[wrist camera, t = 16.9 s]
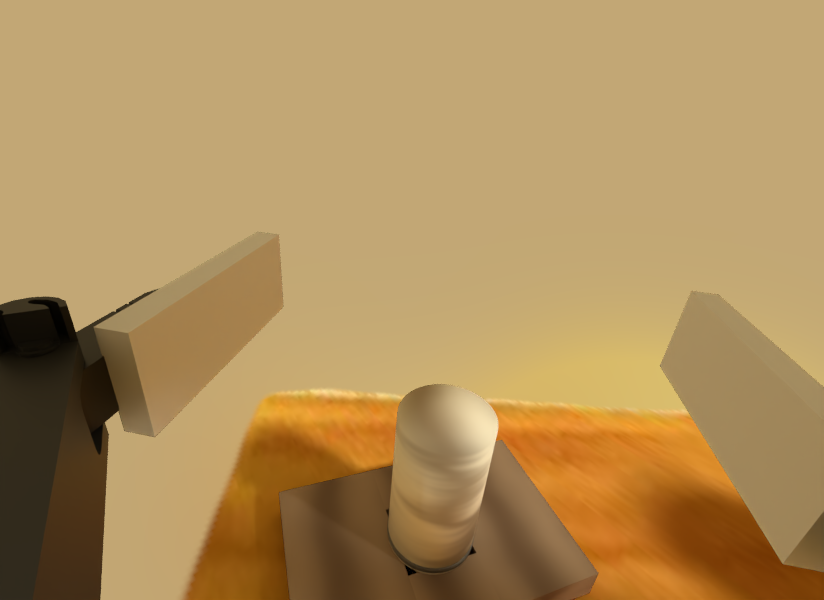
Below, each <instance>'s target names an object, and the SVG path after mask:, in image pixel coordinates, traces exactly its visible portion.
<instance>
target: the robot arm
mask: <svg viewBox="0 0 824 600" xmlns="http://www.w3.org/2000/svg"><path fill="white" fill-rule="evenodd" d="M282 308H283V292H282V276H281V262H280V244H279V235H278V234H270V233H263V232H256V233H255V234H253V235H251V236H249V237H248V238H246V239H244V240H243V241H241V242H239V243H237V244H236V245H234V246H232V247H231V248H229V249H227V250H225V251H224V252H222V253H220V254H218V255H217V256H215V257H214V258H212V259H210V260H208V261H206V262H205V263H203V264H201V265H200V266H198V267H196V268H194V269H193V270H191V271H189V272H188V273H186V274H184V275H182V276H181V277H179V278H177V279H175V280H174V281H172V282H171V283H169V284H167V285H165V286H164V287H162V288H160V289H157V290H154V291H151V292H147V293H145V294H143V295H142V296H139V297H138V298H136V299H134V300H132V301H131V302H129V304H125V305H124V306H122V307H120V308H118V309H117V310H116V312H111V313H109V314H108V315H106V316H104V317H102V318H101V319H99V320H97V321H95V322H94V323H92V324H90V325H89V326H87V327H85V328H83V329H81V330H80V331H78V332H75V329H74V325H73V322H72V319H71V316H70V313H69V310H68V307H67V304H66V301H64V300H62V299H60V298H55V297H32V298H26V299H20V300H15V301H11V302H8V303H4V304H2V305H0V600H100V594H101V574H102V553H103V535H104V515H105V495H106V476H107V475H106V474H107V455H108V435H109V434H108V431H107V428H106V425H105V421H106V420H108V419H109V418H110V417H111V416H113V415H114V414H115V413H116V412H117V411H119V414H120V418H121V421H122V424H123V428H124V431H127V432H132V433H137V434H142V435H147V436H152V437H156V436H157V435H158V433H160V432H161V430H162V429H164V427H166V425H167V424H168V423H169V422H170V421H171V420H172V419H173V418H174V417H175V416H176V415H177V414H178V413H179V412H180V411H181V410H182V409H183V408H184V407H185V406H186V405H187V404H188V403H189V402H190V401H191V400H192V399H193V398H194V397H195V396H196V395H197V394H198V393H199V392H200V391H201V390H202V389H203V388H204V387H205V386H206V385H207V384H208V383H209V382H210V381H211V380H212V379H213V378H214V377H215V376H216V375H217V374H218V373H219V372H220V371H221V370H222V369H223V368H224V367H225V366H226V365H227V364H228V363H229V362H230V360H231V359H233V358H234V357H235V356H236V355H237V354H238V352H240V351H241V349H242V348H243V347H244V346H245V345H246V344H247V343H248V342H249V341H250V340H251V339H252V338H253V337H254V336H255V335H256V334H257V333H258V332H259V331H260V330H261V329H262V328H263V327H264V326H265V325H266V324H267V323H268V322H269V321H270V320H271V319H272V318H273V317H274V316H275V315H276V314H277V313H278V312H279V311H280V310H281V309H282ZM660 367H661V368H662V370H663V372H664V373H665V375H666V377H667V378H668V380H669V382H670V383H671V384H672V386H673V388H674V390H675V391H676V393H677V394H678V396H679V398H680V399H681V401H682V402H683V404H684V406H685V407H686V409H687V411H688V412H689V414H690V415H691V417H692V419H693V420H694V422H695V423H696V425H697V427H698V428H699V430H700V432H701V433H702V435H703V436H704V438H705V440H706V441H707V443H708V444H709V446H710V448H711V449H712V451H713V452H714V454H715V456H716V457H717V459H718V461H719V462H720V464H721V465H722V467H723V469H724V470H725V472H726V473H727V475H728V477H729V478H730V480H731V482H732V483H733V485H734V486H735V488H736V490H737V491H738V493H739V494H740V496H741V498H742V499H743V501H744V502H745V504H746V506H747V507H748V509H749V511H750V512H751V514H752V515H753V517H754V519H755V520H756V522H757V523H758V525H759V527H760V528H761V530H762V532H763V533H764V535H765V536H766V538H767V540H768V541H769V543H770V544H771V546H772V548H773V549H774V551H775V552H776V554H777V556H778V557H779V559H780V561H781V562H782V564H785V565H790V566H795V567H800V568H805V569H810V570H815V571H820V572H824V387H823V386H822V385H820V384H819V383H818V382H817V381H816V380H815V379H814V378H812V376H810V375H809V374H808V373H807V372H806V371H805V370H803V369H802V368H801V367H800V366H799V365H798V364H797V363H796V362H795V361H793V360H792V359H791V358H790V357H789V356H788V355H787V354H785V353H784V352H783V351H782V350H781V349H780V348H779V347H777V346H776V345H775V344H774V343H773V342H772V341H771V340H770V339H768V338H767V337H766V336H765V335H764V334H762V332H760V331H759V330H758V329H757V328H756V327H755V326H754V325H752V324H751V323H750V322H749V321H748V320H747V319H746V318H744V317H743V316H742V315H741V314H740V313H739V312H738V311H737V310H735V309H734V308H733V307H732V306H731V305H730V304H729V303H727V302H726V301H725V300H724V299H723V298H722V297H721V296H720V295H718V294H711V293H703V292H696V291H691V293H690V295H689V298H688V300H687V303H686V305H685V308H684V310H683V312H682V314H681V317H680V319H679V322H678V324H677V326H676V329H675V331H674V334H673V336H672V338H671V341H670V343H669V346H668V348H667V350H666V353H665V355H664V358H663V360H662V362H661V365H660Z"/></svg>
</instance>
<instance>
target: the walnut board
mask: <svg viewBox="0 0 824 600" xmlns="http://www.w3.org/2000/svg"><path fill="white" fill-rule="evenodd" d="M392 471H393V466H388V467H384V468H380V469H376V470H371V471H367V472H363V473H359V474H354V475H350V476H346V477H342V478H337V479H333V480H329V481H324V482H320V483H316V484H312V485H307V486H303V487H299V488H295V489H290V490H286V491H282V492H279V499H280V511H281V521H282V530H283V540H284V550H285V560H286V569H287V579H288V589H289V599H290V600H573V599H575V598H578V597H580V596H582V595H585V594H587V593H590V591H591V588H592V586H593V584H594V582H595V580H596V578H597V576H598V572H597V571H596V569H595V568H594V566H593V565H592V564H591V562H590V561H589V560H588V558H587V557H586V555H585V554H584V553H583V551H582V550H581V548H580V547H579V546H578V544H577V543H576V542H575V540H574V539H573V537H572V536H571V535H570V533H569V532H568V531H567V529H566V528H565V526H564V525H563V524H562V522H561V521H560V519H559V518H558V517H557V515H556V514H555V513H554V511H553V510H552V508H551V507H550V506H549V504H548V503H547V502H546V500H545V499H544V497H543V496H542V495H541V493H540V492H539V490H538V489H537V488H536V486H535V485H534V484H533V482H532V481H531V479H530V478H529V477H528V475H527V474H526V473H525V471H524V470H523V468H522V467H521V466H520V464H519V463H518V461H517V460H516V459H515V457H514V456H513V455H512V453H511V452H510V450H509V449H508V448H507V446H506V445H505V444H504V442H503V441H502V440H499V441H495V446H494V450H493V454H492V459H491V463H490V467H489V472H488V476H487V481H486V485H485V489H484V494H483V498H482V503H481V507H480V511H479V516H478V520H477V524H476V529H475V533H474V541H473V545H472V548H471V551H470V553H469V555H468V556H467V558H466V560H465V561H464V562H463V563H462V564H461V565H460V566H459V567H457V568H456V569H454V570H452V571H450V572H447V573H444V574H437V575H430V574H424V573H420V572H418V573H415V574H412V575H409V576H408V573H407V570H406V567H405V564H404V563H403V562H401V560H400V559H399V558H398V557H397V556H396V555H395V553H394V551H393V550H392V548H391V545H390V543H389V539H388V533H387V523H388V516H389V507H390V495H391V483H392Z"/></svg>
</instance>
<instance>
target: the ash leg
mask: <svg viewBox="0 0 824 600" xmlns="http://www.w3.org/2000/svg"><path fill="white" fill-rule="evenodd" d="M497 432H498V419H497V416H496V414H495V412H494V410H493V409H492V407H491V406H490V405H489V404H488V403H487V402H486V401H485V400H484V399H483V398H481V397H480V396H479V395H477V394H475V393H473V392H471V391H469V390H467V389H464V388H461V387H458V386H453V385H445V384H434V385H427V386H423V387H420V388H417V389H415V390H413V391H411V392H410V393H408V394H407V395H406V396H405V397H404V398H403V399H402V401H401V402H400V405H399V407H398V412H397V424H396V436H395V448H394V460H393V471H392V483H391V495H390V507H389V516H388V523H387V533H388V539H389V543H390V545H391V548H392V550H393V551H394V553H395V555H396V556H397V557H398V558H399V559H400V560H401V562H403V563H404V564H405V565H406V566H408V567H409V568H411V569H413V570H415V571H417V572H420V573H424V574H430V575H437V574H444V573H447V572H450V571H452V570H454V569H456V568H457V567H459V566H460V565H461V564H462V563H463V562H464V561H465V560H466V558H467V556H468V555H469V553H470V551H471V548H472V545H473V541H474V533H475V529H476V524H477V520H478V516H479V511H480V507H481V503H482V498H483V494H484V489H485V485H486V481H487V476H488V472H489V467H490V463H491V459H492V454H493V450H494V446H495V441H496V437H497Z"/></svg>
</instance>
